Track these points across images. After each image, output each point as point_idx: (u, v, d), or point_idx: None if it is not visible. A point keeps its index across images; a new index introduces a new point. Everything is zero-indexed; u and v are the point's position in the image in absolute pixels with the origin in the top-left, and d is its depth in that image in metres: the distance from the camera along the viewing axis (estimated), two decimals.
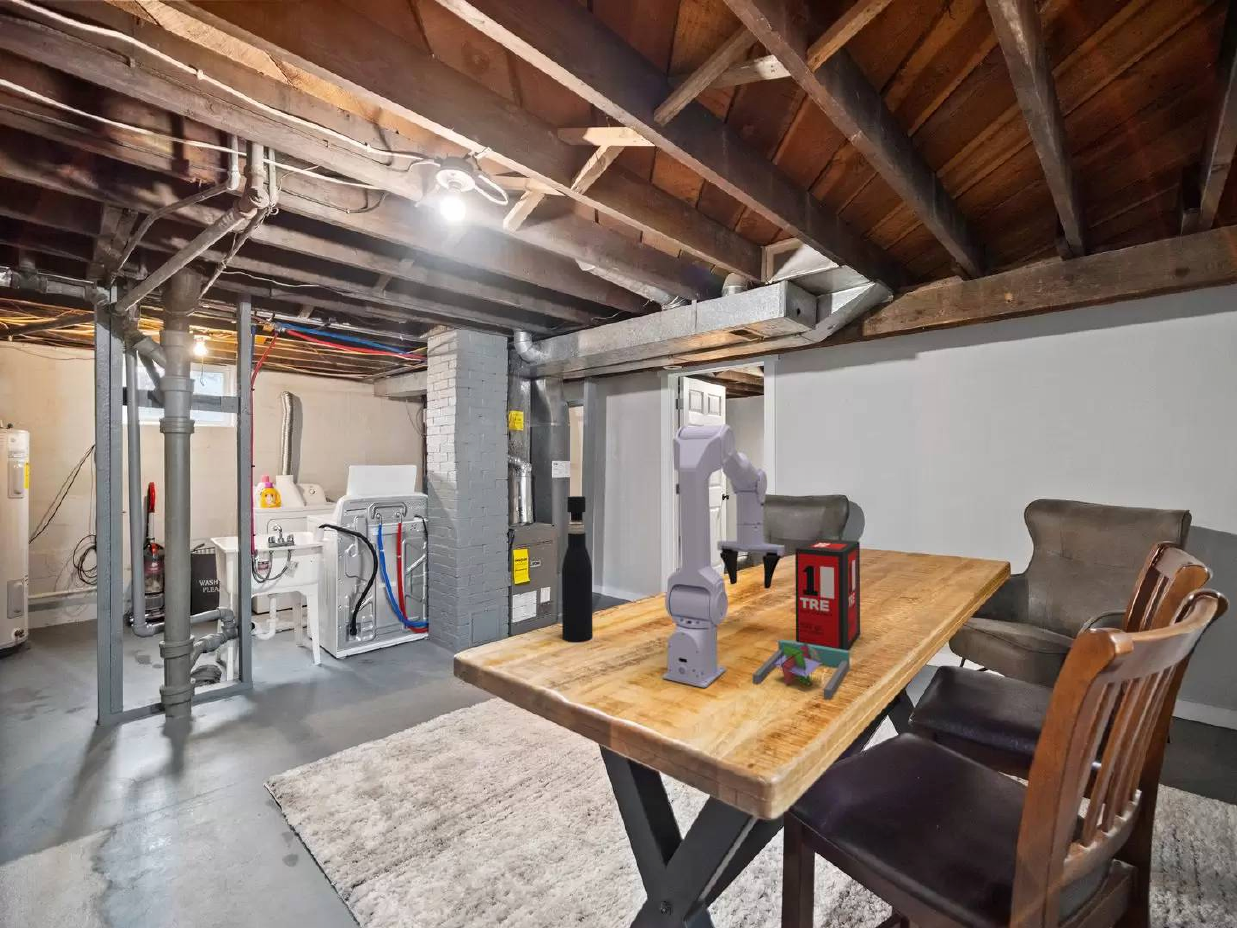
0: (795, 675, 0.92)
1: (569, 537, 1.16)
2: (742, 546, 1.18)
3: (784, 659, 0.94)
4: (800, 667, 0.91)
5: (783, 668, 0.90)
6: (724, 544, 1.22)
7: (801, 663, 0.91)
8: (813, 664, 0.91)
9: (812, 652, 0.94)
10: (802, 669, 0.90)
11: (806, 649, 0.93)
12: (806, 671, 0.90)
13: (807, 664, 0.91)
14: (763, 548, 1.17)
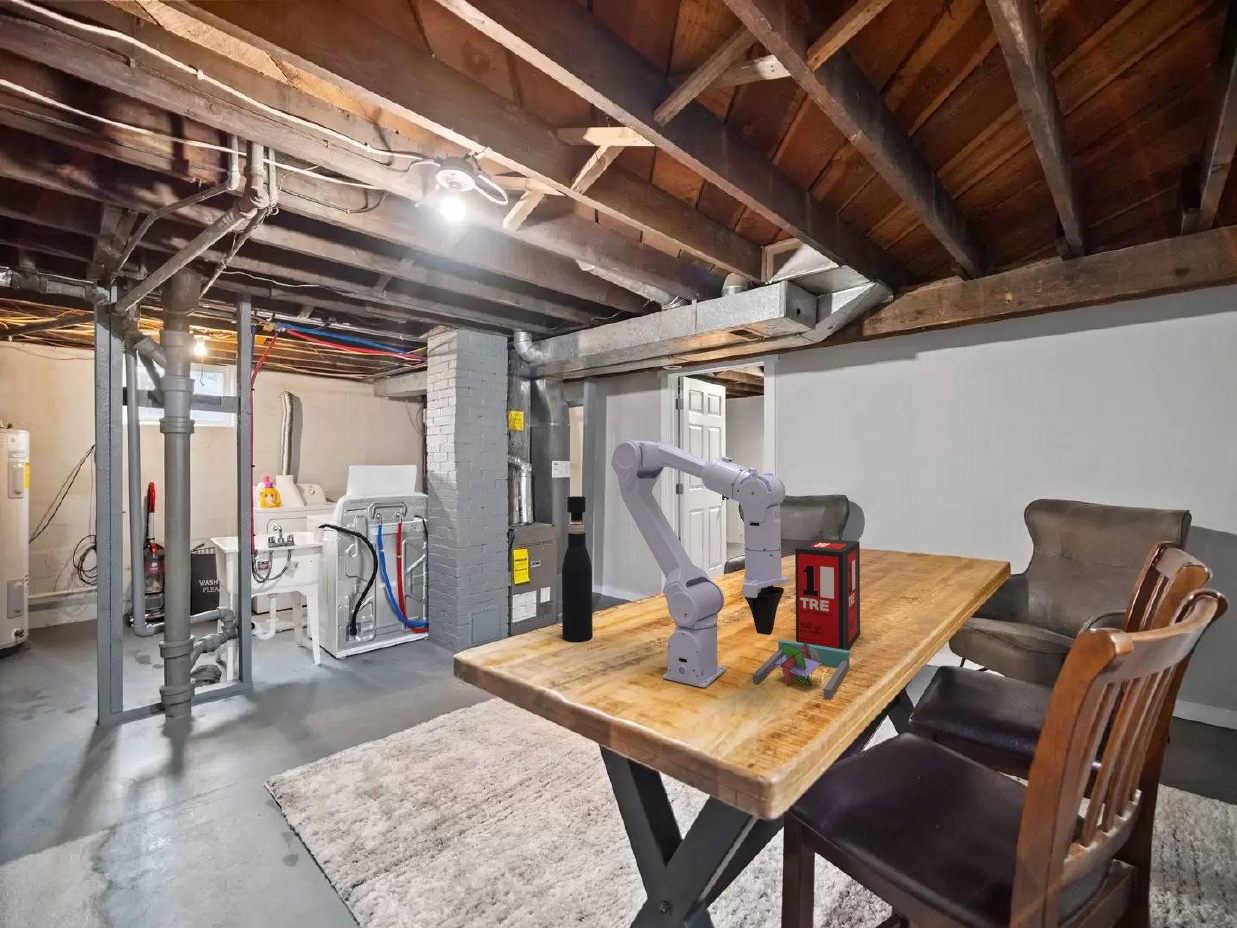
0: (795, 675, 0.92)
1: (569, 537, 1.16)
2: None
3: (784, 659, 0.94)
4: (800, 667, 0.91)
5: (783, 668, 0.90)
6: None
7: (801, 663, 0.91)
8: (813, 664, 0.91)
9: (812, 652, 0.94)
10: (802, 669, 0.90)
11: (806, 649, 0.93)
12: (806, 671, 0.90)
13: (807, 664, 0.91)
14: None
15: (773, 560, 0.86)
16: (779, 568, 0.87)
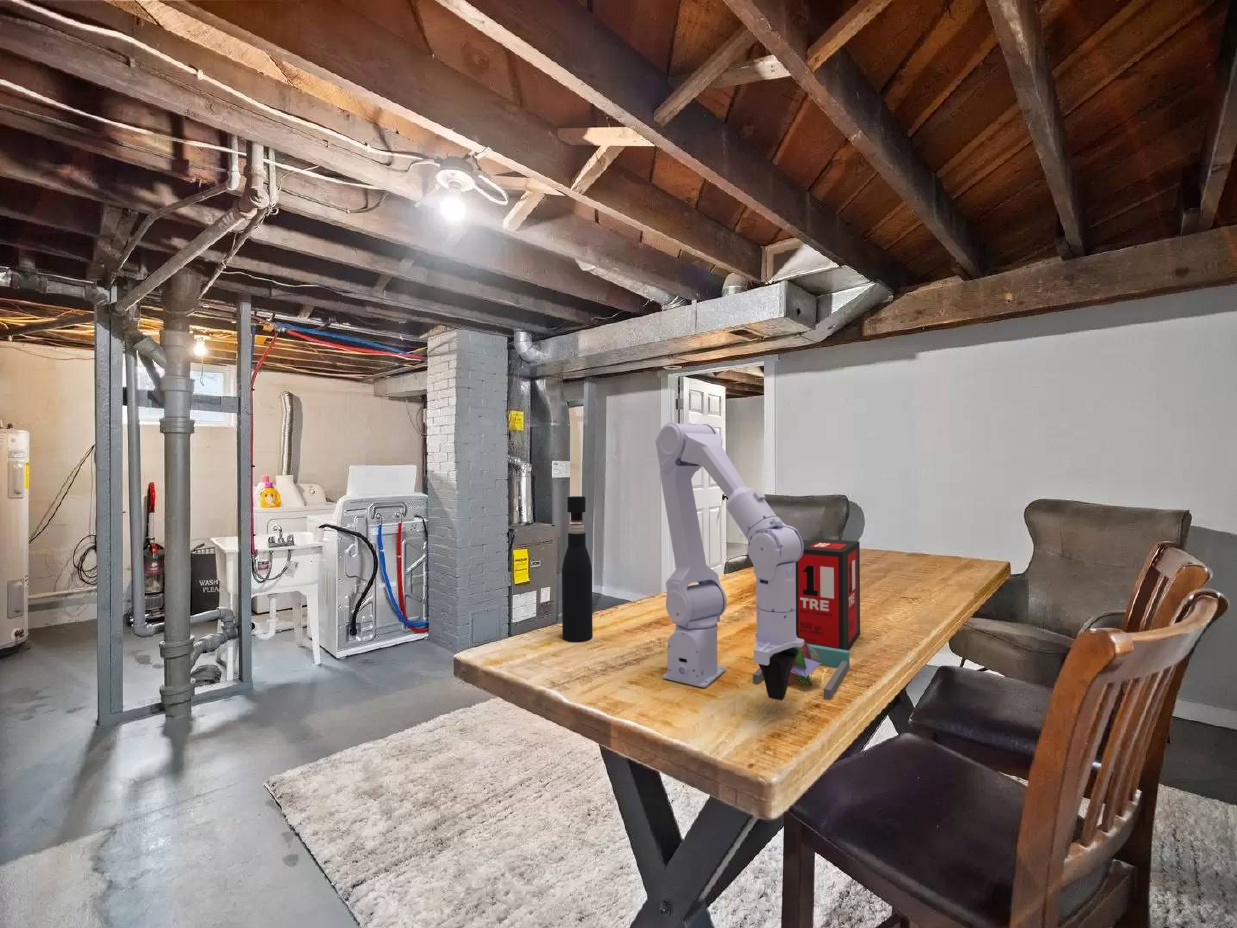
0: (795, 675, 0.92)
1: (569, 537, 1.16)
2: None
3: None
4: (800, 667, 0.91)
5: None
6: None
7: (801, 663, 0.91)
8: (813, 664, 0.91)
9: (812, 652, 0.94)
10: (802, 669, 0.90)
11: (806, 649, 0.93)
12: (806, 671, 0.90)
13: (807, 664, 0.91)
14: None
15: (787, 621, 0.80)
16: (793, 630, 0.81)
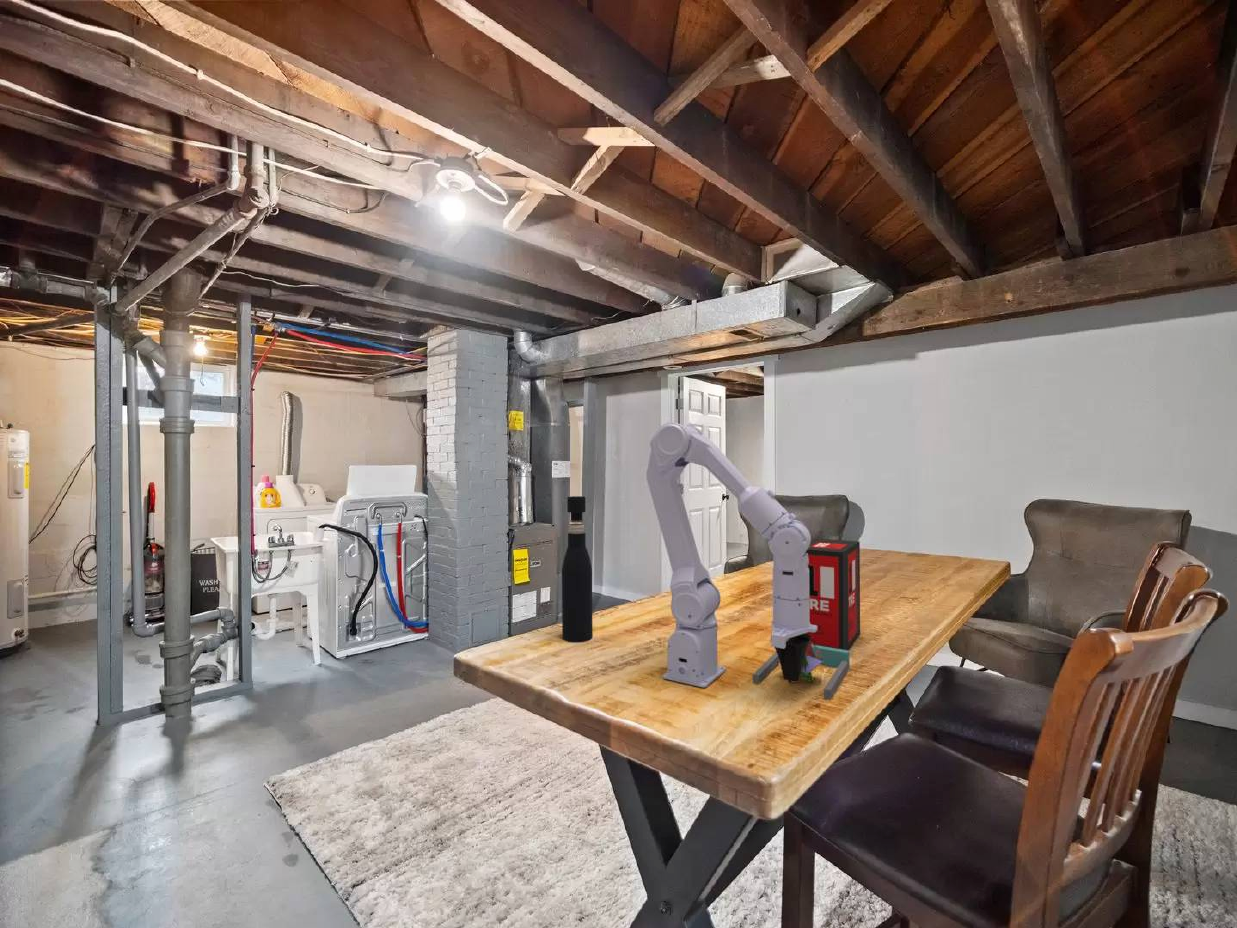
0: None
1: (569, 537, 1.16)
2: None
3: None
4: (802, 664, 0.92)
5: None
6: None
7: (803, 660, 0.92)
8: (815, 661, 0.92)
9: (816, 650, 0.94)
10: (804, 666, 0.91)
11: (810, 647, 0.94)
12: (807, 668, 0.91)
13: (809, 662, 0.92)
14: (772, 630, 0.87)
15: (801, 609, 0.87)
16: (807, 617, 0.87)
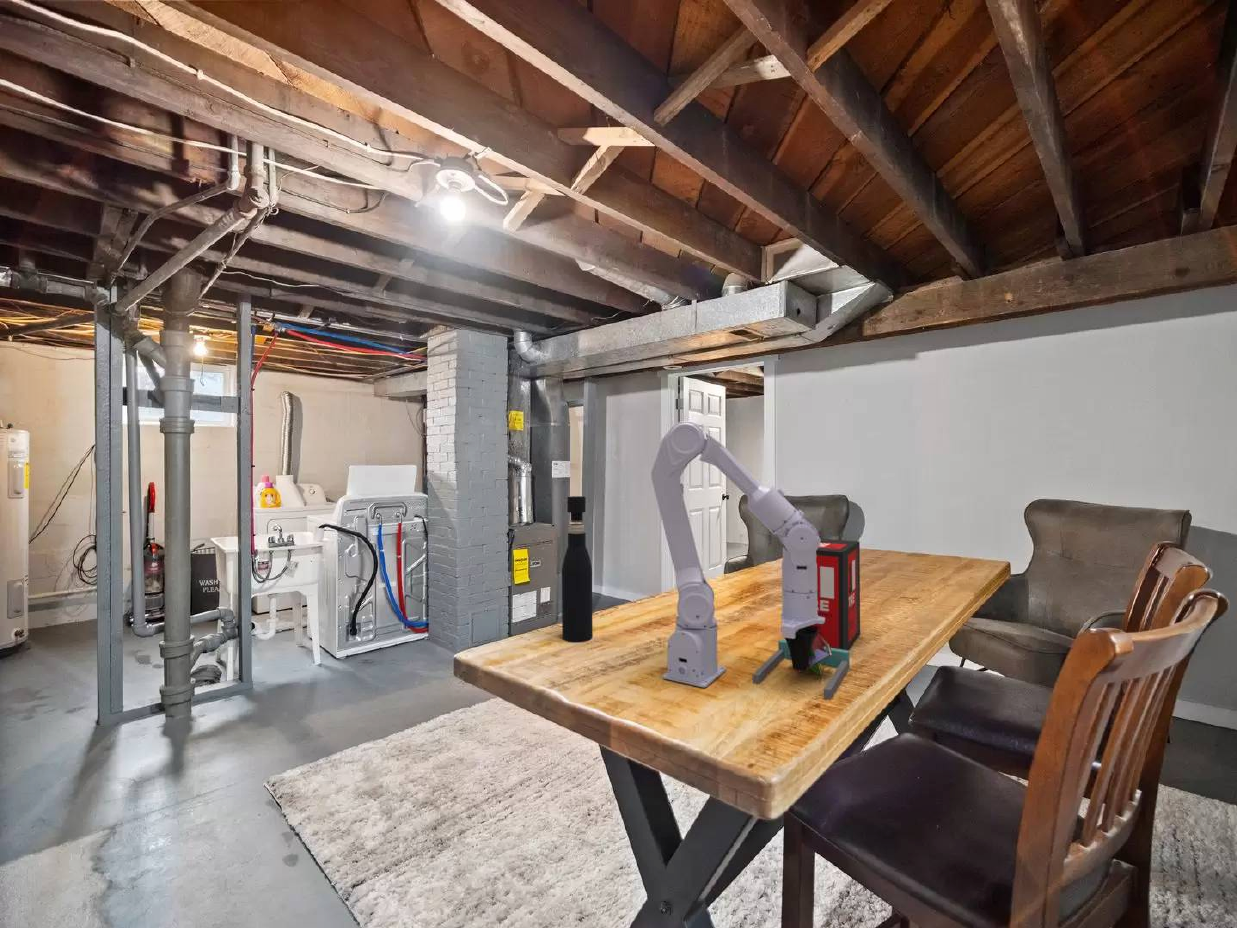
0: None
1: (569, 537, 1.16)
2: None
3: None
4: (810, 657, 0.95)
5: None
6: None
7: (811, 653, 0.95)
8: (822, 654, 0.95)
9: (826, 644, 0.97)
10: (811, 658, 0.95)
11: (819, 641, 0.97)
12: (814, 660, 0.94)
13: (817, 654, 0.95)
14: (782, 622, 0.92)
15: (810, 601, 0.91)
16: (815, 609, 0.92)
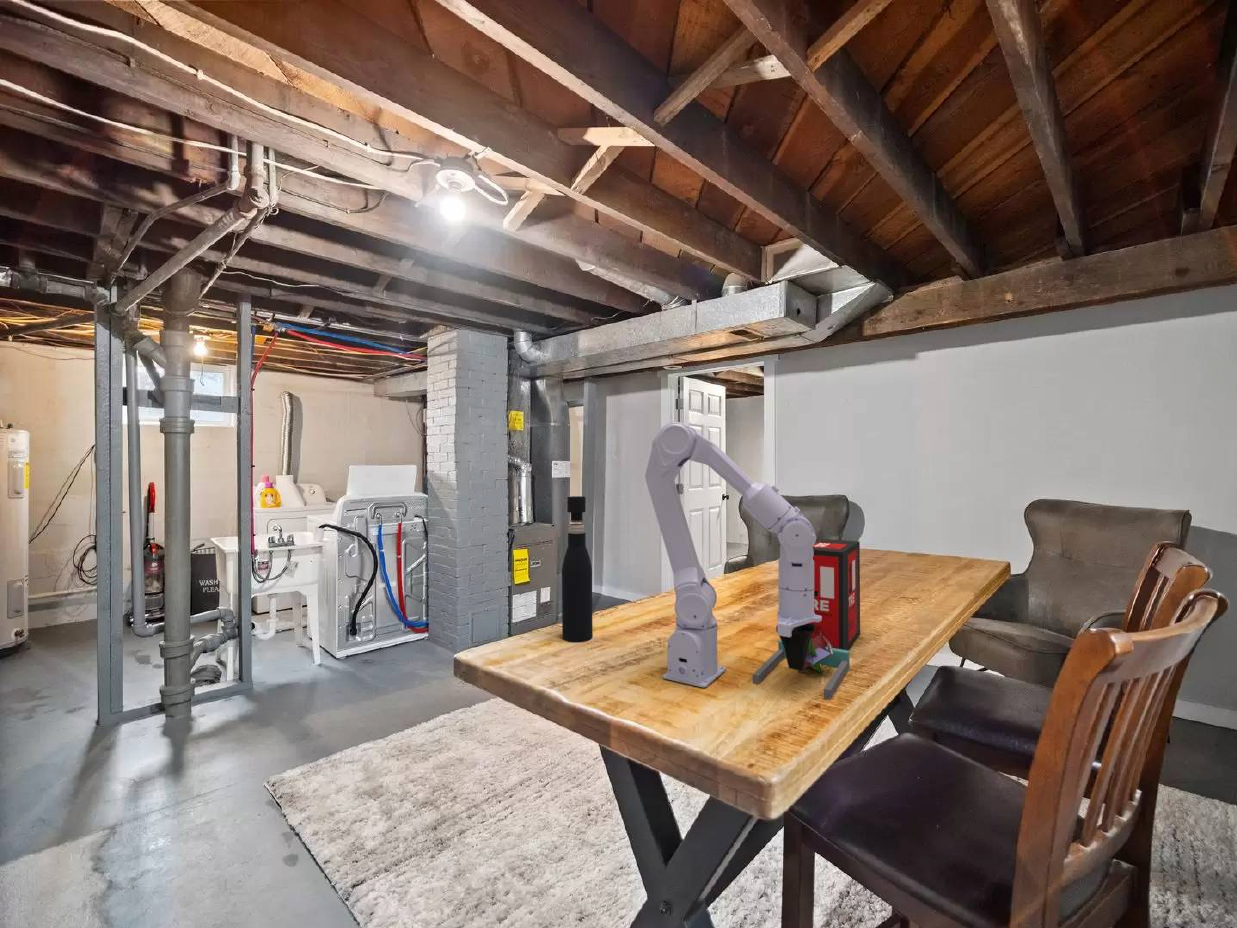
0: (808, 663, 0.98)
1: (569, 537, 1.16)
2: None
3: None
4: (811, 655, 0.96)
5: None
6: None
7: (812, 652, 0.96)
8: (824, 653, 0.96)
9: (827, 643, 0.98)
10: (812, 657, 0.96)
11: (821, 640, 0.98)
12: (815, 659, 0.95)
13: (819, 653, 0.96)
14: (778, 620, 0.90)
15: (806, 599, 0.89)
16: (812, 607, 0.90)
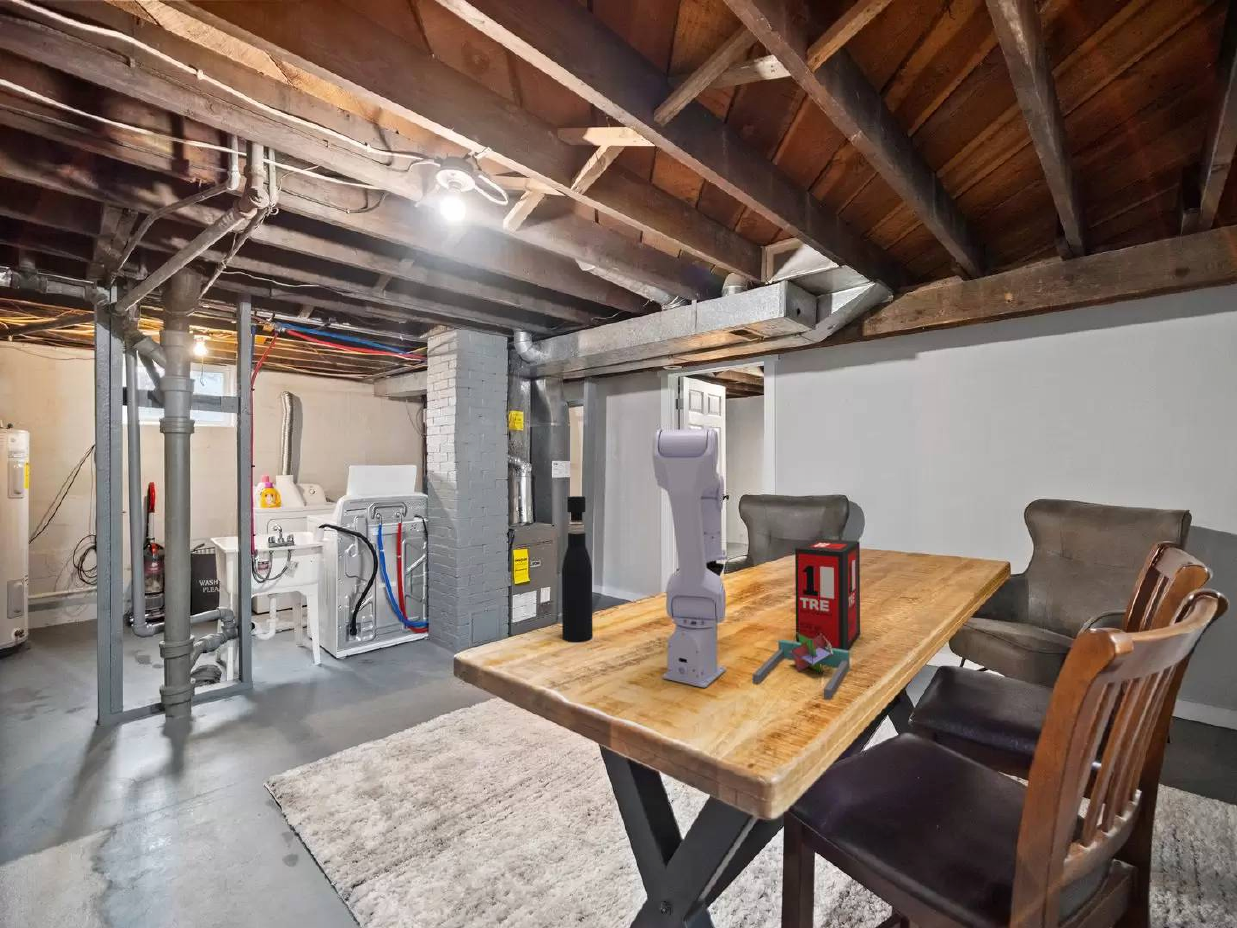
0: (808, 663, 0.98)
1: (569, 537, 1.16)
2: None
3: None
4: (811, 655, 0.96)
5: (794, 654, 0.97)
6: None
7: (812, 652, 0.96)
8: (824, 653, 0.96)
9: (827, 643, 0.98)
10: (812, 657, 0.96)
11: (821, 640, 0.98)
12: (815, 659, 0.95)
13: (819, 653, 0.96)
14: None
15: (713, 541, 1.08)
16: (719, 548, 1.09)
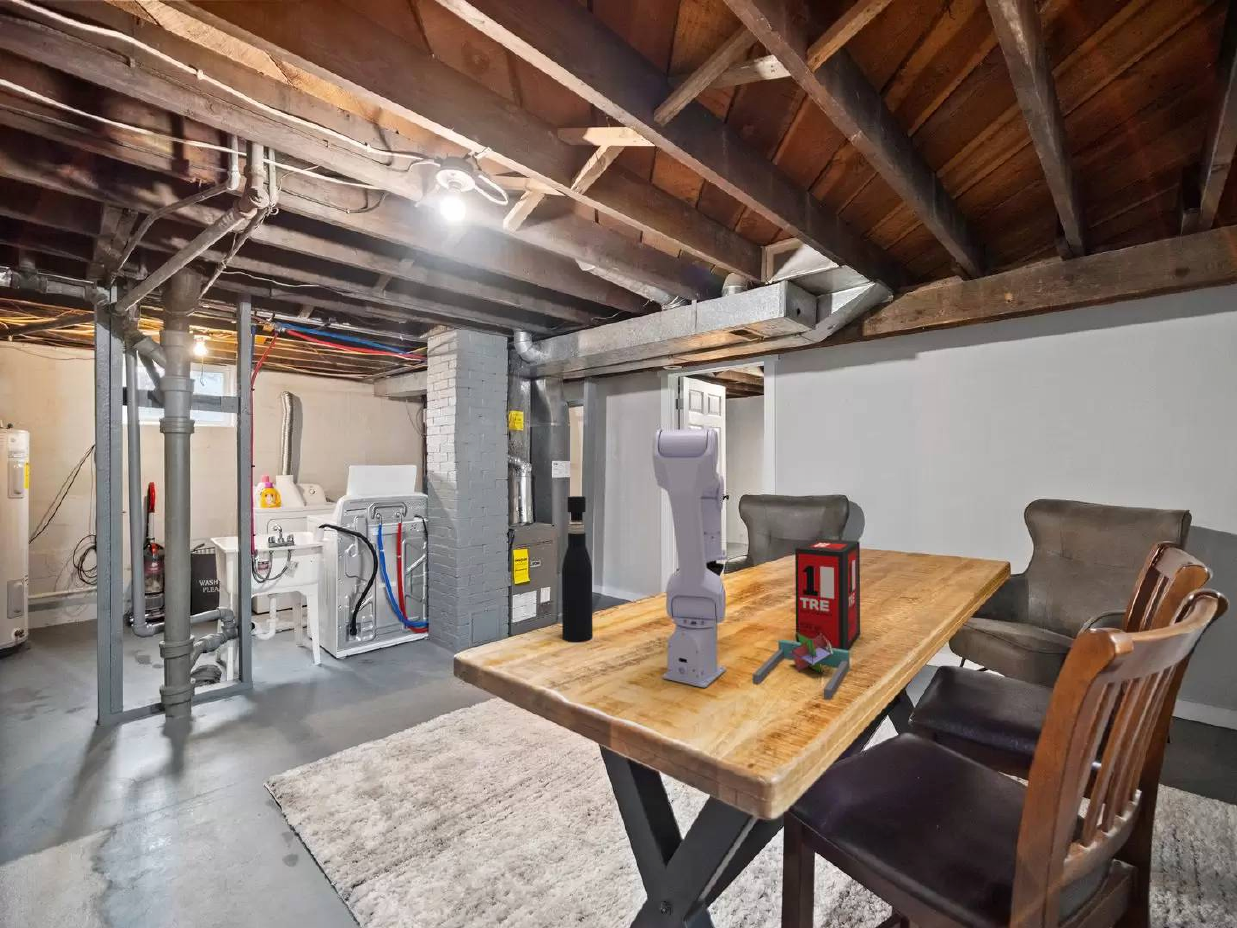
0: (808, 663, 0.98)
1: (569, 537, 1.16)
2: None
3: None
4: (811, 655, 0.96)
5: (794, 655, 0.97)
6: None
7: (812, 652, 0.96)
8: (824, 653, 0.96)
9: (827, 643, 0.98)
10: (812, 657, 0.96)
11: (821, 640, 0.98)
12: (815, 659, 0.95)
13: (819, 653, 0.96)
14: None
15: (713, 541, 1.08)
16: (719, 548, 1.09)
